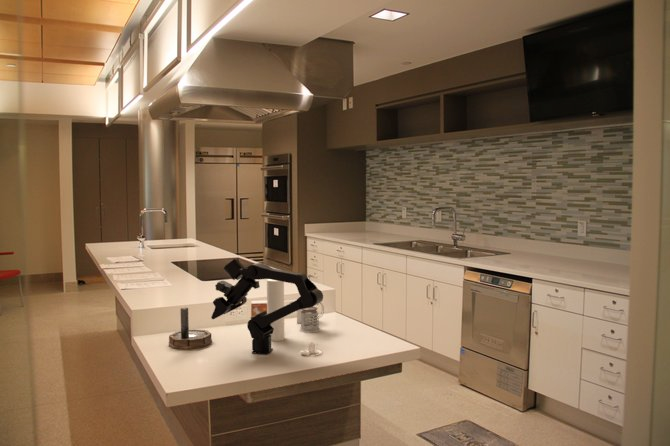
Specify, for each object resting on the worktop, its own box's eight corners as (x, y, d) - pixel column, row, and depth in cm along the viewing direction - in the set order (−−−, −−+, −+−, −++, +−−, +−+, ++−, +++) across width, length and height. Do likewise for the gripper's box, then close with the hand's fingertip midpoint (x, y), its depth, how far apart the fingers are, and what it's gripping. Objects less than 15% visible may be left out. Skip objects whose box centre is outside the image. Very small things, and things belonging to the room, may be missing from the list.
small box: (251, 332, 236) (250, 303, 235) (251, 329, 242) (251, 300, 241) (269, 331, 237) (269, 302, 236) (269, 328, 243) (269, 299, 242)
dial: (211, 336, 224) (210, 303, 223) (197, 345, 212) (196, 310, 211) (183, 335, 227) (183, 302, 226) (168, 343, 215) (167, 308, 214)
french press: (295, 328, 242) (295, 273, 241) (319, 325, 247) (318, 272, 246) (303, 333, 233) (303, 276, 232) (327, 330, 238) (327, 275, 237)
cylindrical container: (285, 336, 229) (285, 278, 228) (282, 340, 222) (282, 281, 221) (269, 335, 230) (268, 278, 229) (265, 340, 223) (264, 281, 222)
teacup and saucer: (301, 358, 201) (301, 347, 201) (297, 351, 209) (297, 341, 208) (324, 355, 203) (324, 345, 203) (319, 349, 211) (319, 339, 211)
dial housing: (218, 338, 226) (218, 329, 226) (200, 350, 209) (199, 340, 209) (181, 336, 230) (181, 327, 229) (160, 347, 213) (160, 338, 213)
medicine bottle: (312, 323, 252) (311, 298, 251) (296, 323, 252) (296, 298, 251) (312, 319, 259) (312, 295, 258) (298, 319, 259) (298, 295, 258)
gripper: (238, 270, 219) (215, 297, 223) (216, 277, 201) (191, 306, 205) (257, 289, 217) (233, 316, 221) (236, 298, 199) (211, 327, 203)
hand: (217, 315), depth 212 cm, fingers open, 9 cm apart
